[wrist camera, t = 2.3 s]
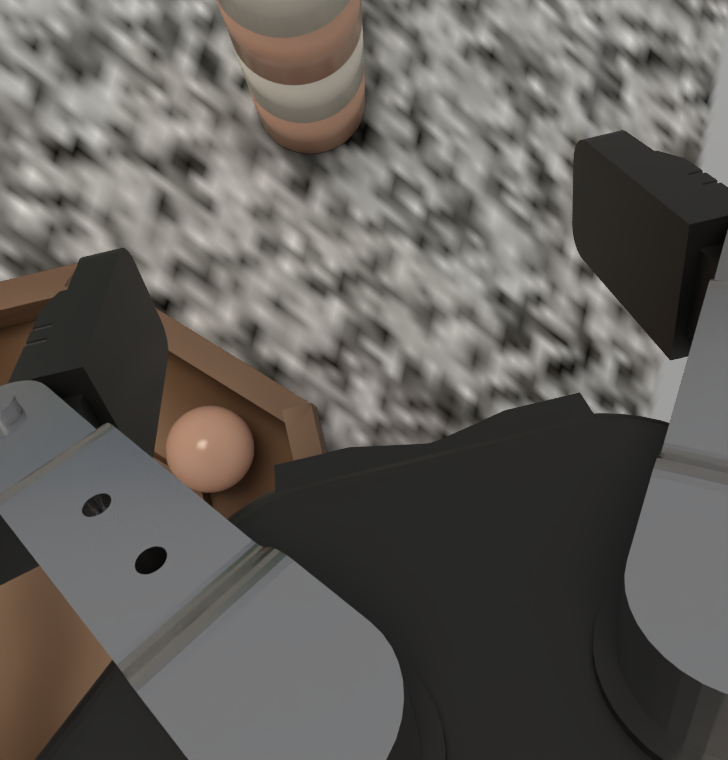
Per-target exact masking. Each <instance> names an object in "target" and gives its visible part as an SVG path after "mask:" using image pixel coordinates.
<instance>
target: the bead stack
mask: <svg viewBox="0 0 728 760" xmlns="http://www.w3.org/2000/svg"><path fill="white" fill-rule="evenodd" d="M217 3H218V5H219V8H220V11H221V14H222V16H223V19H224V22H225V25H226V27H227V30H228V33H229V36H230V38H231V41H232V44H233V47H234V49H235V52H236V55H237V58H238V60H239V63H240V66H241V69H242V71H243V74H244V77H245V80H246V82H247V85H248V88H249V91H250V93H251V96H252V99H253V102H254V104H255V107H256V110H257V113H258V115H259V118H260V121H261V123H262V125H263V127H264V129H265V130H266V132H267V133H268V134H269V136H270V137H271V138H272V139H273V140H274V141H276V142H277V143H278V144H280V145H281V146H283V147H285V148H287V149H289V150H292V151H294V152H299V153H305V154H316V153H322V152H326V151H329V150H332V149H334V148H336V147H338V146H340V145H341V144H343V143H344V142H346V141H347V140H348V139H349V138H350V137H351V136H352V135H353V134H354V133H355V131H356V130H357V128H358V127H359V125H360V123H361V121H362V118H363V115H364V111H365V104H366V99H365V76H364V53H363V30H362V8H361V0H217Z"/></svg>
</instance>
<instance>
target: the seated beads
mask: <svg viewBox="0 0 728 760" xmlns="http://www.w3.org/2000/svg"><path fill="white" fill-rule="evenodd" d="M165 454H166V460H167V464H168V466H169V468H170V470H171V472H172V474H173V475H174V476H175V477H176V478H177V479H179V480H180V481H181V482H182V483H183V484H185V485H186V486H187V487H188V488H190V489H192V490H195V491H198V492H205V493H214V492H220V491H223V490H226V489H228V488H230V487H232V486H234V485H235V484H237V483H238V482H239V481H240V480H241V479H242V478H243V477H244V476H245V475H246V473H247V472H248V470H249V468H250V466H251V464H252V461H253V457H254V439H253V435H252V432H251V430H250V428H249V426H248V425H247V423H246V422H245V421H244V420H243V419H242V418H241V417H240V416H239V415H238V414H236V413H235V412H233V411H232V410H230V409H227V408H225V407H221V406H213V405H210V406H201V407H197V408H194V409H192V410H190V411H188V412H187V413H185V414H184V415H182V416H181V417H180V418H179V419H178V420H177V421H176V422H175V423H174V425H173V426H172V428H171V430H170V432H169V434H168V437H167V440H166V447H165Z"/></svg>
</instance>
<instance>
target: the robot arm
mask: <svg viewBox="0 0 728 760" xmlns="http://www.w3.org/2000/svg"><path fill="white" fill-rule="evenodd" d="M572 227H573V236H574V241H575V244H576V247H577V250H578V252H579V254H580V256H581V258H582V259H583V260H584V261H585V262H586V264H587V265H588V266H589V267H590V268H591V269H592V270H593V272H594V273H595V274H596V275H597V276H598V277H599V279H600V280H601V281H602V282H603V283H604V284H605V285H606V287H607V288H608V289H609V290H610V291H611V292H612V294H613V295H614V296H615V297H616V298H617V299H618V300H619V302H620V303H621V304H622V305H623V306H624V307H625V309H626V310H627V311H628V312H629V313H630V314H631V315H632V317H633V318H634V319H635V320H636V321H637V322H638V324H639V325H640V326H641V327H642V328H643V329H644V331H645V332H646V333H647V334H648V335H649V336H650V337H651V339H652V340H653V341H654V342H655V343H656V344H657V346H658V347H659V348H660V349H661V350H662V351H663V352H664V354H665V355H666V356H667V357H668V358H669V359H670V360H674V359H679V358H683V357H687V356H688V359H687V363H686V366H685V370H684V373H683V377H682V380H681V384H680V388H679V391H678V395H677V398H676V402H675V405H674V409H673V413H672V416H671V420H670V423H667V422H664V421H661V420H656V419H651V418H646V417H642V416H634V415H626V414H609V413H596V414H593V412H592V411H591V409H590V408H589V406H588V404H587V403H586V401H585V400H584V398H583V397H582V395H581V394H580V393H576V394H572V395H568V396H564V397H559V398H555V399H551V400H547V401H543V402H538V403H534V404H530V405H526V406H522V407H517V408H513V409H509V410H505V411H503V412H500V413H498V414H496V415H494V416H492V417H489V418H487V419H485V420H483V421H481V422H478V423H476V424H474V425H472V426H469V427H467V428H465V429H463V430H461V431H458V432H456V433H454V434H452V435H450V436H447V437H445V438H443V439H441V440H438V441H436V442H432V443H428V444H412V445H391V446H369V447H349V448H345V449H340V450H336V451H332V452H328V453H324V454H319V455H315V456H311V457H307V458H303V459H298V460H294V461H290V462H286V463H282V464H277V465H274V475H275V489H274V490H271V491H269V492H267V493H265V494H263V495H262V496H260V497H258V498H256V499H255V500H253V501H251V502H249V503H248V504H246V505H245V506H244V507H242V508H241V509H239V510H238V511H236V512H235V513H234V514H232V515H231V516H230V517H229V518H228V519H226V518H225V517H224V516H222V515H221V514H220V513H219V512H217V511H216V510H215V509H214V508H213V507H211V506H210V505H209V504H208V503H207V502H205V501H204V500H203V499H202V498H200V497H199V496H198V495H197V494H196V493H194V492H193V491H192V490H191V489H190V488H188V487H187V486H186V485H185V484H183V483H182V482H181V481H180V480H179V479H177V478H176V477H175V476H174V475H173V474H171V473H170V472H169V471H168V470H166V469H165V468H164V467H163V466H162V465H160V464H159V463H158V462H157V461H156V460H154V459H153V456H154V449H155V443H156V436H157V429H158V422H159V416H160V409H161V402H162V395H163V388H164V382H165V375H166V368H167V361H168V353H169V352H168V342H167V337H166V333H165V329H164V326H163V324H162V321H161V319H160V317H159V315H158V312H157V310H156V308H155V306H154V304H153V301H152V299H151V297H150V295H149V293H148V290H147V288H146V286H145V284H144V282H143V279H142V277H141V275H140V273H139V271H138V268H137V266H136V264H135V262H134V260H133V258H132V256H131V255H130V253H129V252H128V251H127V250H126V249H125V248H120V249H115V250H111V251H107V252H103V253H98V254H94V255H90V256H86V257H82V258H80V260H79V262H78V264H77V267H76V269H75V272H74V274H73V277H72V279H71V281H70V284H69V286H68V289H67V290H63V291H59V292H58V293H57V294H56V295H55V296H54V297H53V298H52V299H51V300H50V301H49V302H48V303H47V304H46V305H45V306H44V307H43V308H42V309H41V310H40V312H39V315H38V317H37V319H36V321H35V323H34V326H33V331H31V332H30V335H29V337H28V339H27V341H26V345H27V346H25V347H24V348H23V350H22V352H21V355H20V357H19V359H18V361H17V364H16V366H15V368H14V370H13V372H12V375H11V377H10V379H9V381H8V384H5V385H2V386H0V585H2V584H4V583H6V582H8V581H10V580H12V579H14V578H16V577H18V576H20V575H22V574H24V573H26V572H28V571H30V570H32V569H34V568H36V567H38V566H41V568H42V569H43V570H44V572H45V573H46V574H47V576H48V577H49V578H50V579H51V581H52V582H53V583H54V585H55V586H56V587H57V588H58V590H59V591H60V592H61V594H62V595H63V596H64V597H65V599H66V600H67V601H68V603H69V604H70V605H71V607H72V608H73V609H74V610H75V612H76V613H77V614H78V616H79V617H80V618H81V619H82V621H83V622H84V623H85V625H86V626H87V627H88V629H89V630H90V631H91V632H92V634H93V635H94V636H95V638H96V639H97V640H98V641H99V643H100V644H101V645H102V647H103V648H104V649H105V650H106V652H107V653H108V654H109V656H110V657H111V658H112V661H111V662H110V663H109V665H108V666H107V667H106V668H105V670H104V671H103V672H102V674H101V675H100V676H99V677H98V679H97V680H96V681H95V683H94V684H93V685H92V686H91V688H90V689H89V690H88V692H87V693H86V694H85V695H84V697H83V698H82V699H81V701H80V702H79V703H78V704H77V706H76V707H75V708H74V710H73V711H72V712H71V714H70V715H69V716H68V717H67V719H66V720H65V721H64V723H63V724H62V725H61V726H60V728H59V729H58V730H57V732H56V733H55V734H54V735H53V737H52V738H51V739H50V741H49V742H48V743H47V744H46V746H45V747H44V748H43V750H42V751H41V752H40V753H39V755H38V756H37V757H36V759H35V760H728V187H726V186H725V185H724V184H722V183H717V180H716V179H715V178H713V177H711V176H710V175H709V174H707V173H702V170H701V169H700V168H698V167H697V166H695V165H694V164H692V163H691V162H689V161H688V160H686V159H684V158H681V157H678V156H674V155H670V154H667V153H663V152H660V151H653V150H652V149H651V148H649V147H648V146H646V145H645V144H643V143H642V142H640V141H639V140H638V139H636V138H635V137H633V136H632V135H630V134H629V133H627V132H626V131H623V130H621V131H617V132H613V133H609V134H604V135H600V136H596V137H592V138H588V139H583V140H580V141H579V142H578V143H577V145H576V147H575V151H574V164H573V218H572Z"/></svg>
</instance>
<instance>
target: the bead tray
mask: <svg viewBox="0 0 728 760" xmlns="http://www.w3.org/2000/svg"><path fill="white" fill-rule="evenodd" d="M77 264H78V263H76V264H72V265H68V266H64V267H59V268H55V269H51V270H47V271H43V272H39V273H34V274H30V275H26V276H22V277H18V278H14V279H9V280H5V281H1V282H0V386H2V385H5V384H8V381H9V379H10V377H11V375H12V372H13V370H14V368H15V366H16V364H17V361H18V359H19V357H20V355H21V352H22V350H23V348H24V347H25V346H27V345H26V341H27V339H28V337H29V335H30V332H31V331H33V326H34V323H35V321H36V319H37V317H38V315H39V312H40V310H41V309H42V308H43V307H44V306H45V305H46V304H47V303H48V302H49V301H50V300H51V299H52V298H53V297H54V296H55V295H56V294H57V293H58V292H59V291H63V290H67V289H68V286H69V284H70V281H71V279H72V277H73V274H74V272H75V269H76V267H77ZM156 310H157V312H158V315H159V317H160V319H161V321H162V324H163V326H164V329H165V333H166V337H167V342H168V352H169V353H168V361H167V368H166V375H165V382H164V388H163V395H162V402H161V409H160V416H159V422H158V429H157V436H156V443H155V449H154V456H153V459H154V460H156V461H157V462H158V463H159V464H160V465H162V466H163V467H164V468H165V469H166V470H168V471H169V472H170V473H171V474H172V472H171V470H170V468H169V466H168V464H167V460H166V454H165V447H166V440H167V437H168V434H169V432H170V430H171V428H172V426H173V425H174V423H175V422H176V421H177V420H178V419H179V418H180V417H181V416H182V415H184V414H185V413H187V412H188V411H190V410H192V409H194V408H197V407H201V406H210V405H213V406H221V407H225V408H227V409H230V410H232V411H233V412H235V413H236V414H238V415H239V416H240V417H241V418H242V419H243V420H244V421H245V422H246V423H247V425H248V426H249V428H250V430H251V432H252V435H253V439H254V457H253V461H252V464H251V466H250V468H249V470H248V472H247V473H246V475H245V476H244V477H243V478H242V479H241V480H240V481H239V482H238V483H237V484H235V485H234V486H232V487H230V488H228V489H226V490H223V491H220V492H214V493H205V492H198V491H195V490H192V489H191V490H192V491H193V492H194V493H196V494H197V495H198V496H199V497H200V498H202V499H203V500H204V501H205V502H207V503H208V504H209V505H210V506H211V507H213V508H214V509H215V510H216V511H217V512H219V513H220V514H221V515H222V516H224V517H225V518H226V519H228V518H229V517H230V516H231V515H232V514H234V513H235V512H236V511H238V510H239V509H241V508H242V507H244V506H245V505H246V504H248V503H249V502H251V501H253V500H255V499H256V498H258V497H260V496H262V495H263V494H265V493H267V492H269V491H271V490H274V489H275V475H274V465H277V464H282V463H286V462H290V461H294V460H298V459H303V458H307V457H311V456H315V455H319V454H324V453H327V451H326V446H325V442H324V438H323V433H322V429H321V425H320V420H319V416H318V412H317V407H316V406H314V405H313V404H312V403H309V402H307V401H306V400H304V399H302V398H301V397H299V396H297V395H296V394H294V393H293V392H291V391H289V390H288V389H286V388H284V387H283V386H281V385H280V384H278V383H276V382H275V381H273V380H271V379H270V378H268V377H267V376H265V375H263V374H262V373H260V372H258V371H257V370H255V369H254V368H252V367H250V366H249V365H247V364H245V363H244V362H242V361H241V360H239V359H237V358H236V357H234V356H233V355H231V354H229V353H228V352H226V351H224V350H223V349H221V348H220V347H218V346H216V345H215V344H213V343H211V342H210V341H208V340H207V339H205V338H203V337H202V336H200V335H198V334H197V333H195V332H194V331H192V330H190V329H189V328H187V327H185V326H184V325H182V324H181V323H179V322H177V321H176V320H174V319H172V318H171V317H169V316H168V315H166V314H164V313H163V312H161V311H159V310H158V309H156ZM111 661H112V658H111V657H110V656H109V654H108V653H107V652H106V650H105V649H104V648H103V647H102V645H101V644H100V643H99V641H98V640H97V639H96V638H95V636H94V635H93V634H92V632H91V631H90V630H89V629H88V627H87V626H86V625H85V623H84V622H83V621H82V619H81V618H80V617H79V616H78V614H77V613H76V612H75V610H74V609H73V608H72V607H71V605H70V604H69V603H68V601H67V600H66V599H65V597H64V596H63V595H62V594H61V592H60V591H59V590H58V588H57V587H56V586H55V585H54V583H53V582H52V581H51V579H50V578H49V577H48V576H47V574H46V573H45V572H44V570H43V569H42V568H41V566H38V567H36V568H34V569H32V570H30V571H28V572H26V573H24V574H22V575H20V576H18V577H16V578H14V579H12V580H10V581H8V582H6V583H4V584H2V585H0V760H35V759H36V757H37V756H38V755H39V753H40V752H41V751H42V750H43V748H44V747H45V746H46V744H47V743H48V742H49V741H50V739H51V738H52V737H53V735H54V734H55V733H56V732H57V730H58V729H59V728H60V726H61V725H62V724H63V723H64V721H65V720H66V719H67V717H68V716H69V715H70V714H71V712H72V711H73V710H74V708H75V707H76V706H77V704H78V703H79V702H80V701H81V699H82V698H83V697H84V695H85V694H86V693H87V692H88V690H89V689H90V688H91V686H92V685H93V684H94V683H95V681H96V680H97V679H98V677H99V676H100V675H101V674H102V672H103V671H104V670H105V668H106V667H107V666H108V665H109V663H110V662H111Z"/></svg>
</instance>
